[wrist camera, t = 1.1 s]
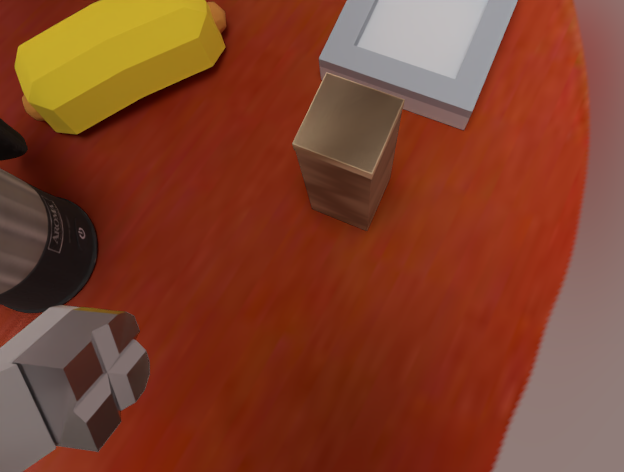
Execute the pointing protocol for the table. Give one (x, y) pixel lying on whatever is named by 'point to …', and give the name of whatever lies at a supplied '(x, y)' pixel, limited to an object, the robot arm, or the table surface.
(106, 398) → the robot arm
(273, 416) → the table surface
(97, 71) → the hot dog
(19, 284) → the milk frother
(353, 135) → the column block
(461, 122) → the plinth base
